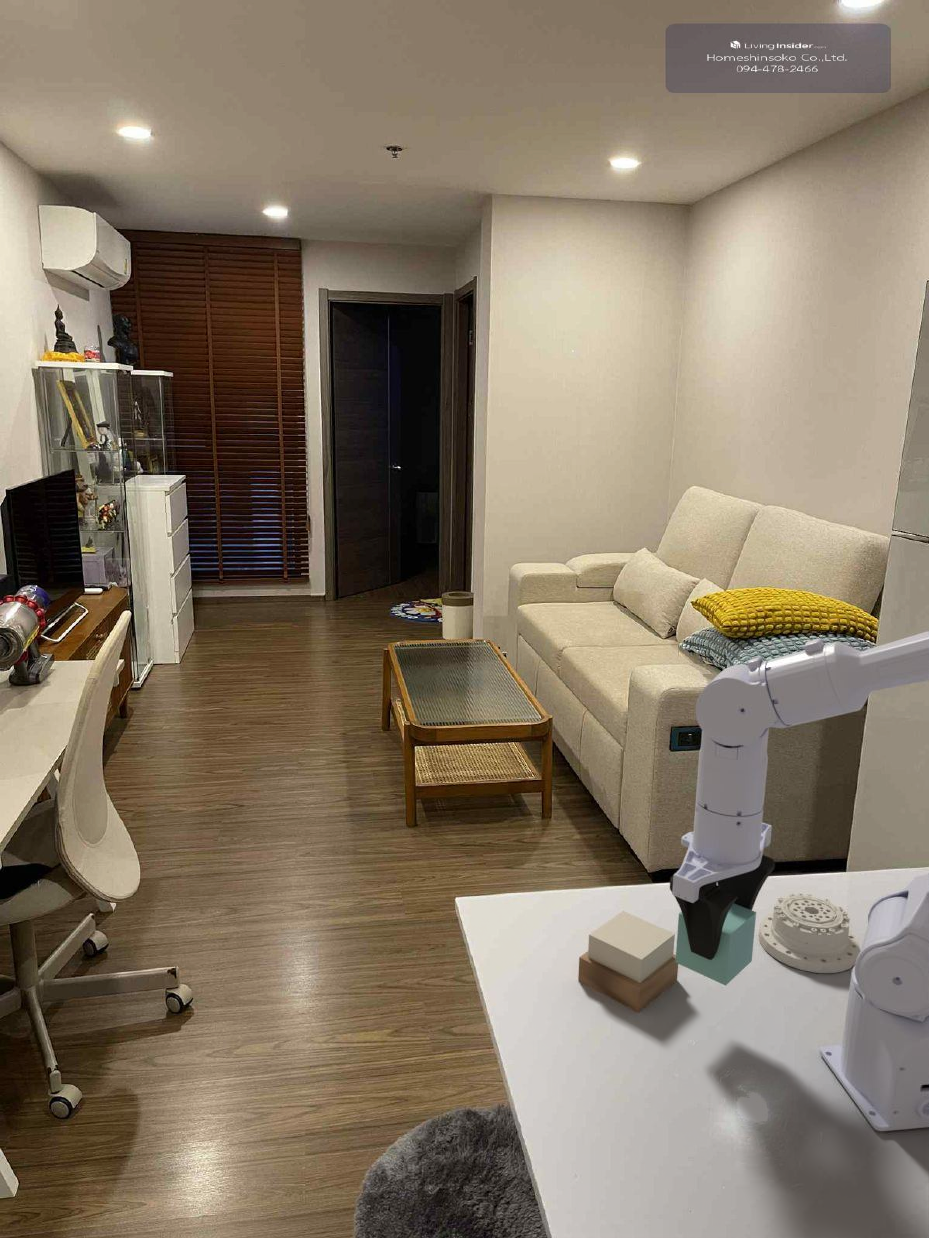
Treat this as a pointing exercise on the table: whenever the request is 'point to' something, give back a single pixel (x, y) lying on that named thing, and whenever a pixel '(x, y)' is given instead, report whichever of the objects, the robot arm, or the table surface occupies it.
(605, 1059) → the table surface
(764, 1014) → the table surface
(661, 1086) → the table surface
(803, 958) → the mechanical component
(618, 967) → the slab top
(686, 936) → the cube
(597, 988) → the slab base
